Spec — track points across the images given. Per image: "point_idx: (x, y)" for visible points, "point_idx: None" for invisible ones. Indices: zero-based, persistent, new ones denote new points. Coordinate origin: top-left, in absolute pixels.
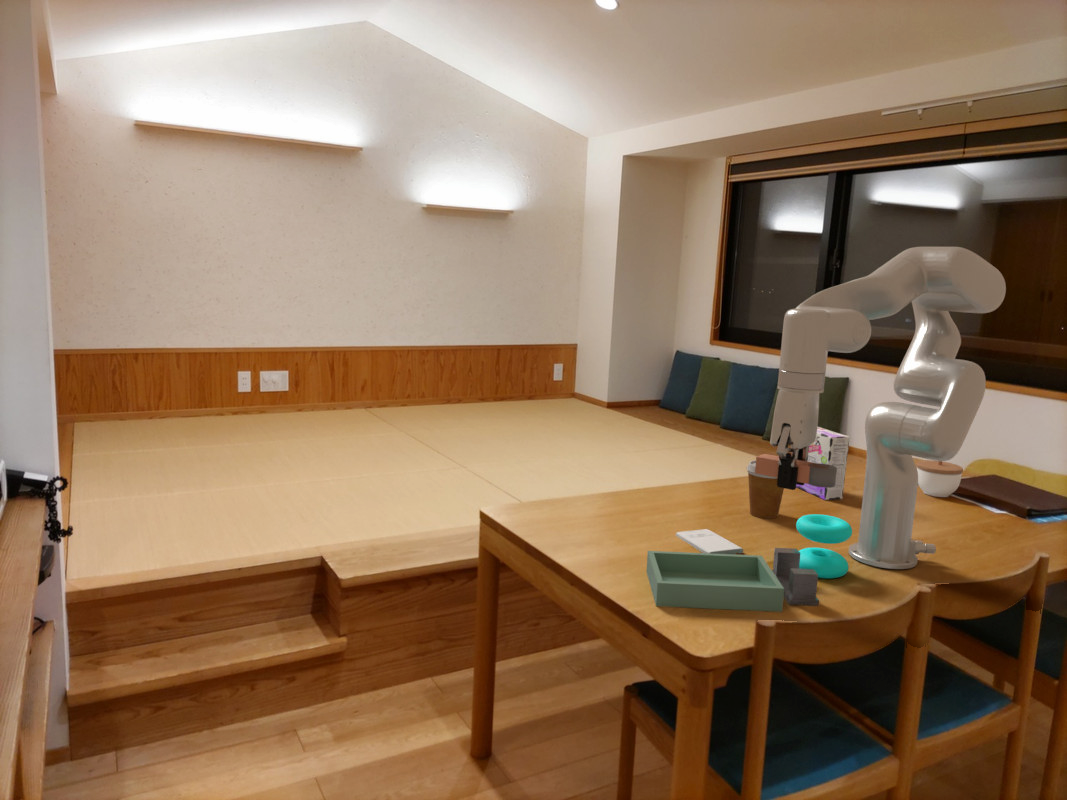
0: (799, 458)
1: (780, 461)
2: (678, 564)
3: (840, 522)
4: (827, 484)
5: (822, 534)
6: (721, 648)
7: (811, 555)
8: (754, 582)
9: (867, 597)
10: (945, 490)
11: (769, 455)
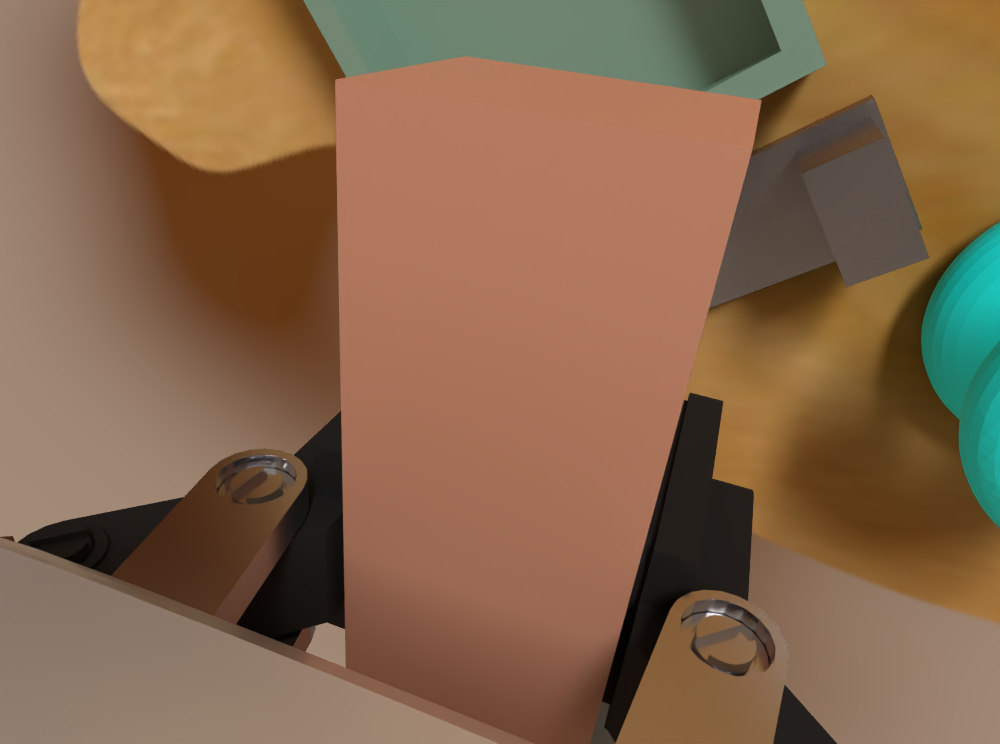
0: (621, 714)
1: (165, 501)
2: None
3: None
4: None
5: (965, 431)
6: (149, 118)
7: None
8: (678, 67)
9: (791, 488)
10: None
11: (629, 286)
